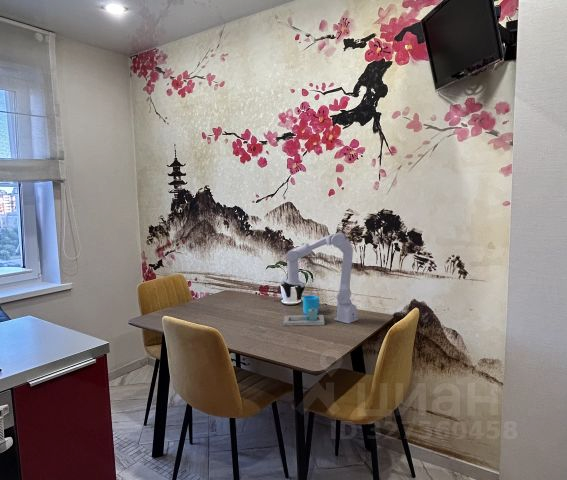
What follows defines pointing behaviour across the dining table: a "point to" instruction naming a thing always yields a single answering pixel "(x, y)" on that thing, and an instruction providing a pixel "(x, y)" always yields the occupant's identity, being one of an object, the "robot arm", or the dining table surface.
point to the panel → (303, 320)
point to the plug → (312, 314)
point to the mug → (310, 303)
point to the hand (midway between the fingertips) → (293, 298)
